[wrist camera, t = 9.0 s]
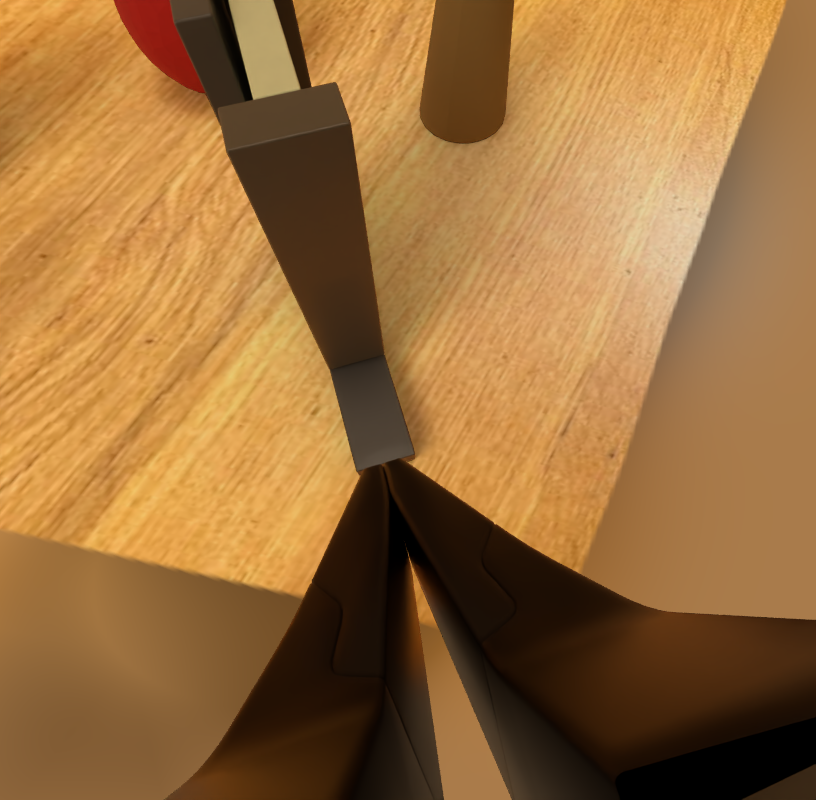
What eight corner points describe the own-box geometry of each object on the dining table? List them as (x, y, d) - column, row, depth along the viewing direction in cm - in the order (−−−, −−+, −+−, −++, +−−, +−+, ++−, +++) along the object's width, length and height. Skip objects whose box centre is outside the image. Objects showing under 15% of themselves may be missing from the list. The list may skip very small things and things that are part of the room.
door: (384, 354, 22) (351, 122, 10) (329, 370, 22) (225, 150, 10) (341, 215, 25) (274, -94, 13) (292, 228, 25) (176, -77, 13)
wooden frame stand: (415, 459, 22) (420, 303, 8) (350, 478, 22) (233, 353, 8) (337, 207, 27) (257, -153, 13) (284, 220, 27) (143, -135, 13)
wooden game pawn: (457, 69, 32) (479, -166, 21) (522, 108, 30) (580, -122, 20) (401, 113, 30) (396, -116, 20) (467, 157, 29) (499, -64, 18)
